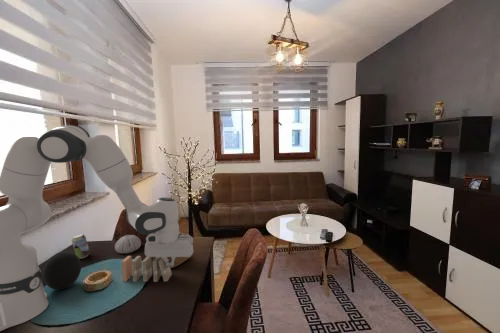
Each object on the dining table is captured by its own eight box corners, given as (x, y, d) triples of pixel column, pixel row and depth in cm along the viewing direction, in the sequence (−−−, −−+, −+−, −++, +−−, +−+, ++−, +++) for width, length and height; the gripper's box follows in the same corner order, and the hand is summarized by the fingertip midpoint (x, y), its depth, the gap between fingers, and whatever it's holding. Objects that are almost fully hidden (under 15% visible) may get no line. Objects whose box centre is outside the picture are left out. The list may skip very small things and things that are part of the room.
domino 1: (123, 281, 104) (121, 261, 103) (129, 274, 109) (127, 255, 108) (126, 281, 104) (125, 261, 103) (132, 274, 109) (131, 255, 108)
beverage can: (88, 258, 125) (86, 236, 124) (71, 261, 123) (69, 238, 121) (91, 253, 131) (89, 231, 130) (75, 255, 128) (73, 234, 127)
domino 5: (164, 281, 103) (158, 262, 103) (168, 275, 108) (162, 256, 108) (167, 280, 103) (161, 261, 102) (171, 274, 108) (166, 255, 107)
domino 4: (153, 281, 104) (152, 261, 103) (158, 275, 109) (157, 255, 108) (157, 281, 104) (156, 261, 103) (162, 275, 108) (160, 255, 108)
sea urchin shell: (146, 245, 141) (145, 231, 140) (131, 256, 127) (130, 241, 126) (125, 244, 143) (124, 230, 142) (109, 254, 129) (107, 240, 128)
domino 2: (133, 281, 104) (131, 261, 103) (138, 274, 109) (137, 255, 108) (136, 281, 104) (135, 261, 103) (142, 274, 109) (141, 255, 108)
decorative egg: (52, 282, 104) (48, 249, 102) (86, 276, 108) (83, 244, 107) (39, 299, 93) (34, 262, 91) (77, 292, 97) (73, 256, 95)
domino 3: (143, 281, 104) (142, 261, 103) (148, 275, 109) (147, 255, 108) (147, 281, 104) (145, 261, 103) (152, 275, 109) (151, 255, 108)
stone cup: (173, 273, 110) (171, 241, 108) (156, 266, 116) (154, 236, 115) (197, 259, 123) (196, 230, 121) (181, 253, 129) (179, 226, 127)
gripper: (194, 232, 107) (195, 261, 108) (148, 232, 107) (150, 261, 108) (190, 237, 100) (192, 269, 102) (141, 237, 101) (143, 269, 102)
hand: (170, 265), depth 105 cm, fingers closed
